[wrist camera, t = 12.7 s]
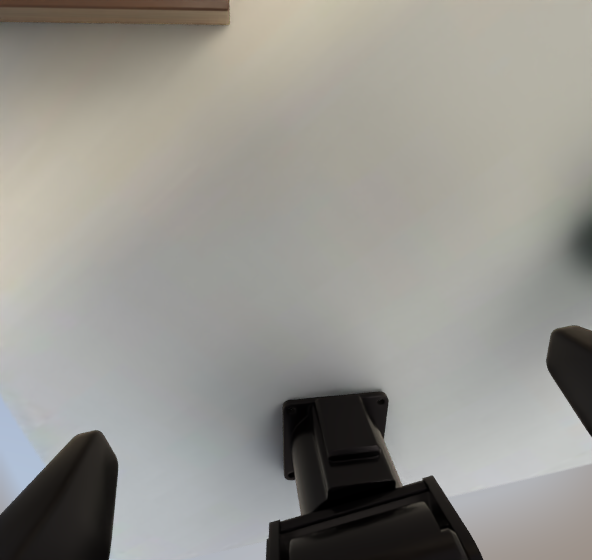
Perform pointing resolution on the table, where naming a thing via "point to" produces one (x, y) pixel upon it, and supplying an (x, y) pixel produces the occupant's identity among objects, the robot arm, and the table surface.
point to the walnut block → (117, 11)
